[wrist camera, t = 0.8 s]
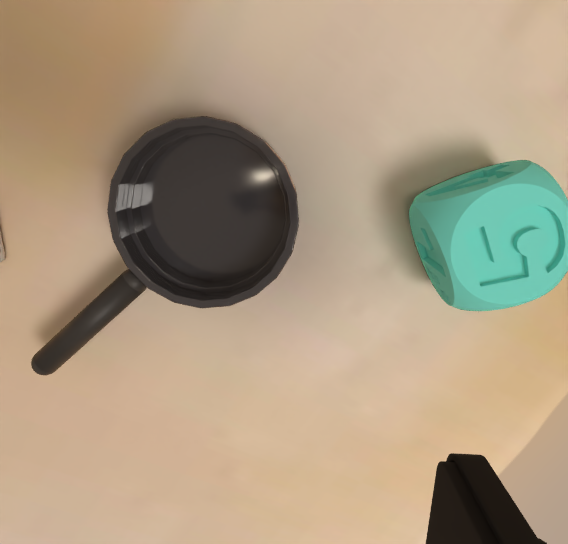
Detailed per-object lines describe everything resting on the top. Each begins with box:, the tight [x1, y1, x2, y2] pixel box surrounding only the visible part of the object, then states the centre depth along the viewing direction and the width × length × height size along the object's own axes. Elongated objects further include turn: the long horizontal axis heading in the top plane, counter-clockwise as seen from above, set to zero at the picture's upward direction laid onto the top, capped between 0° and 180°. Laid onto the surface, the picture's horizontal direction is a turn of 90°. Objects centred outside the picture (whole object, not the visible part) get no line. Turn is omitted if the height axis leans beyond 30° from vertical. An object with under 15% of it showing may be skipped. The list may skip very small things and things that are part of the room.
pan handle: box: [31, 269, 146, 375], centre depth 34 cm, size 12×2×2 cm, turn 131°
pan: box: [108, 116, 299, 308], centre depth 33 cm, size 13×13×4 cm
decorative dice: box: [409, 160, 568, 311], centre depth 31 cm, size 8×8×8 cm
